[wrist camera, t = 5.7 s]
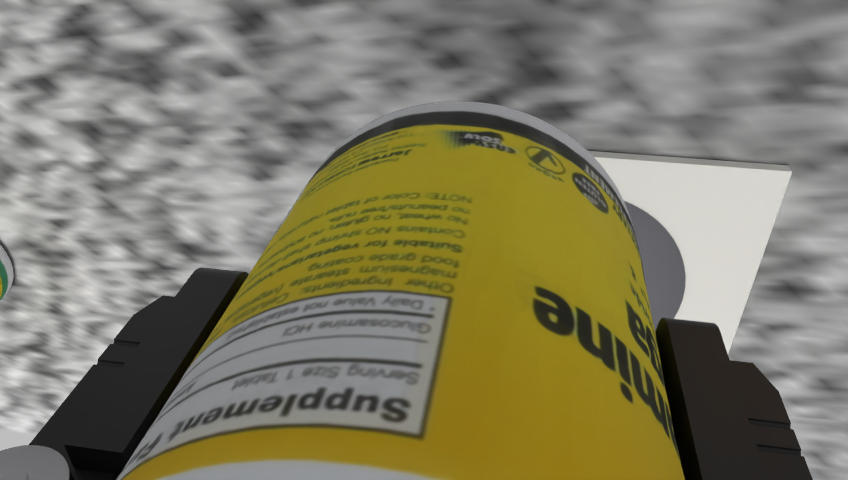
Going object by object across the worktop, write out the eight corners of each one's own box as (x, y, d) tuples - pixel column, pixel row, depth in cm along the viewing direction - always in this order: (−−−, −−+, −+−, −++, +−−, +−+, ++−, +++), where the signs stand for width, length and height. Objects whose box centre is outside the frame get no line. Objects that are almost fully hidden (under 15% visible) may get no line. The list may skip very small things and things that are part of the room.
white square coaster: (788, 165, 25) (793, 172, 24) (707, 398, 31) (710, 407, 31) (408, 137, 26) (405, 144, 26) (408, 364, 33) (406, 373, 32)
